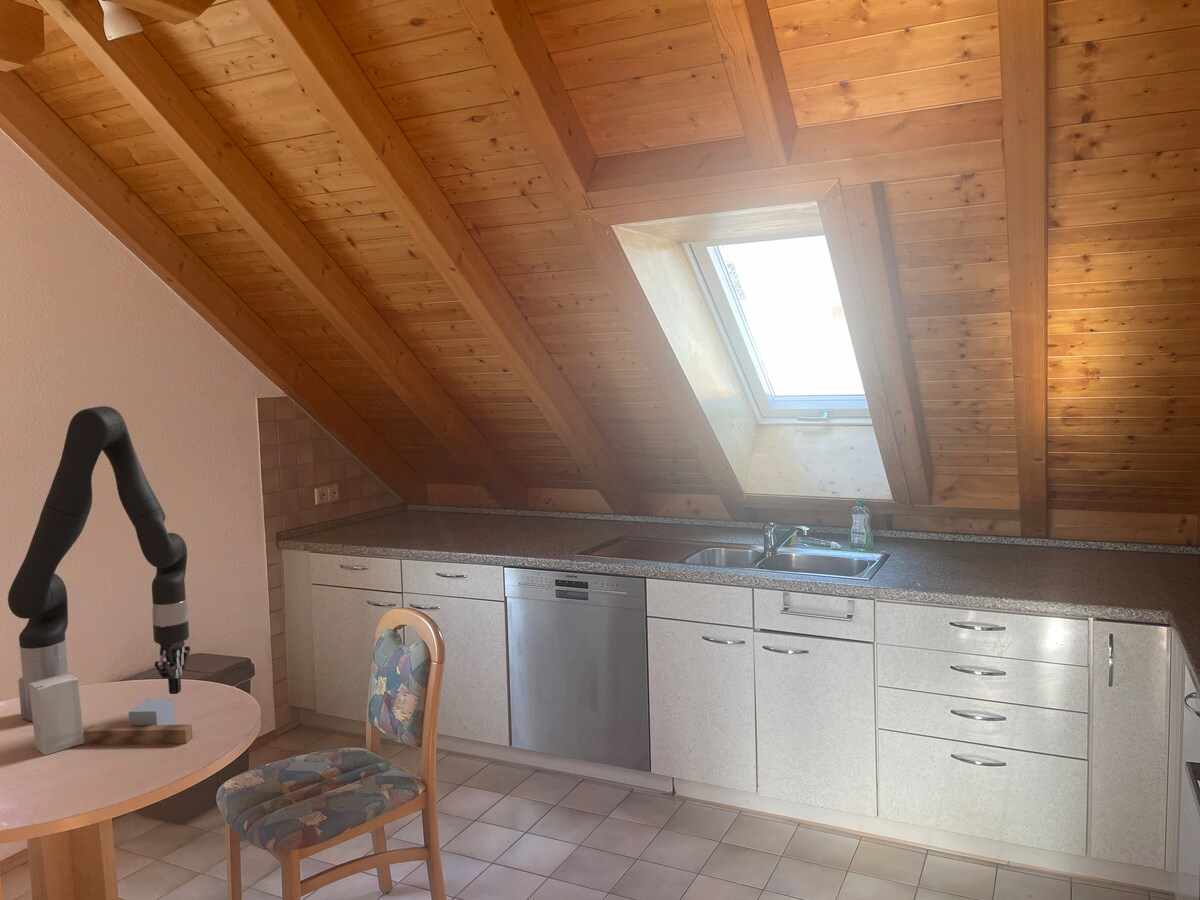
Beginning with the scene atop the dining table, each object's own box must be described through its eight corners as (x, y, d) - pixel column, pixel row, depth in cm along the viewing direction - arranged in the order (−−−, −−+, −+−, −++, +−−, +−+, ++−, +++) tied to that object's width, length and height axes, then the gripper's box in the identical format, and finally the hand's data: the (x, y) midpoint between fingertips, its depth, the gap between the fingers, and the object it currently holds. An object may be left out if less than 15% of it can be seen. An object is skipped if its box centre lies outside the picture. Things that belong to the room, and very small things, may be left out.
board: (85, 744, 206) (84, 731, 206) (93, 739, 209) (91, 725, 209) (186, 743, 206) (185, 729, 205) (192, 737, 209) (191, 724, 208)
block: (130, 738, 210) (128, 711, 209) (148, 724, 218) (147, 698, 217) (157, 738, 210) (156, 711, 209) (175, 724, 218) (173, 698, 217)
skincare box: (75, 737, 211) (70, 671, 209) (85, 744, 207) (80, 677, 205) (33, 749, 205) (27, 681, 203) (42, 756, 201) (37, 687, 199)
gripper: (168, 612, 230) (172, 683, 231) (140, 628, 216) (145, 703, 218) (199, 612, 229) (203, 683, 231) (172, 628, 216) (177, 703, 218)
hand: (175, 692), depth 225 cm, fingers closed
